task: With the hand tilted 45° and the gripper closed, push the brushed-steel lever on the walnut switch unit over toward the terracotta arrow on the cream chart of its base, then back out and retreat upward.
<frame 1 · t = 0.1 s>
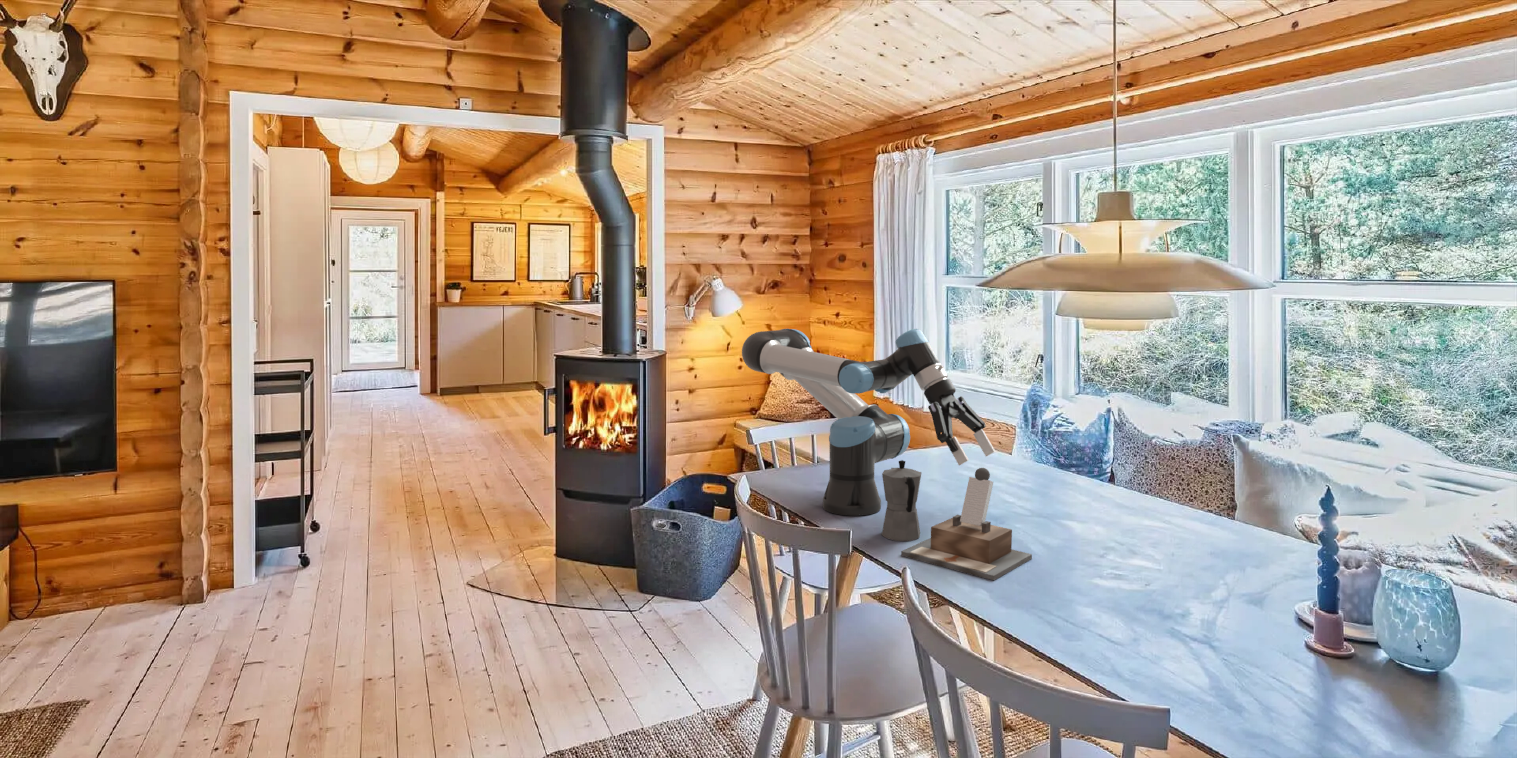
hand: (977, 458, 205), 15 cm above the table, tool tilted 35°, fingers open, 13 cm apart
coffeepot: (902, 537, 194), on the table
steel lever: (977, 495, 181), point 13 cm above the table, hinge at -22.0°
switch unit: (966, 557, 180), on the table
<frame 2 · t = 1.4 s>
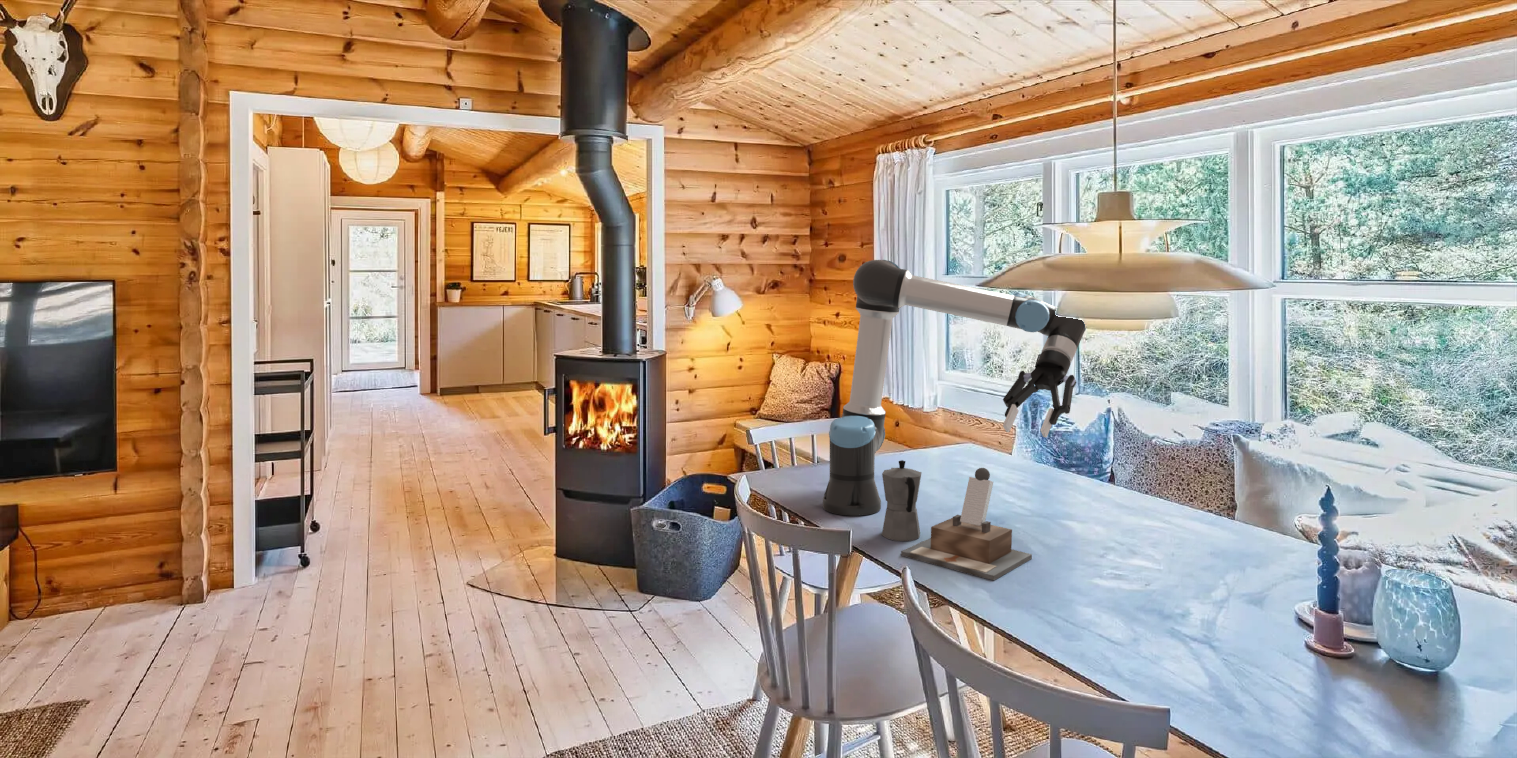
hand: (1024, 431, 195), 24 cm above the table, tool tilted 45°, fingers open, 9 cm apart
nothing on the table moved.
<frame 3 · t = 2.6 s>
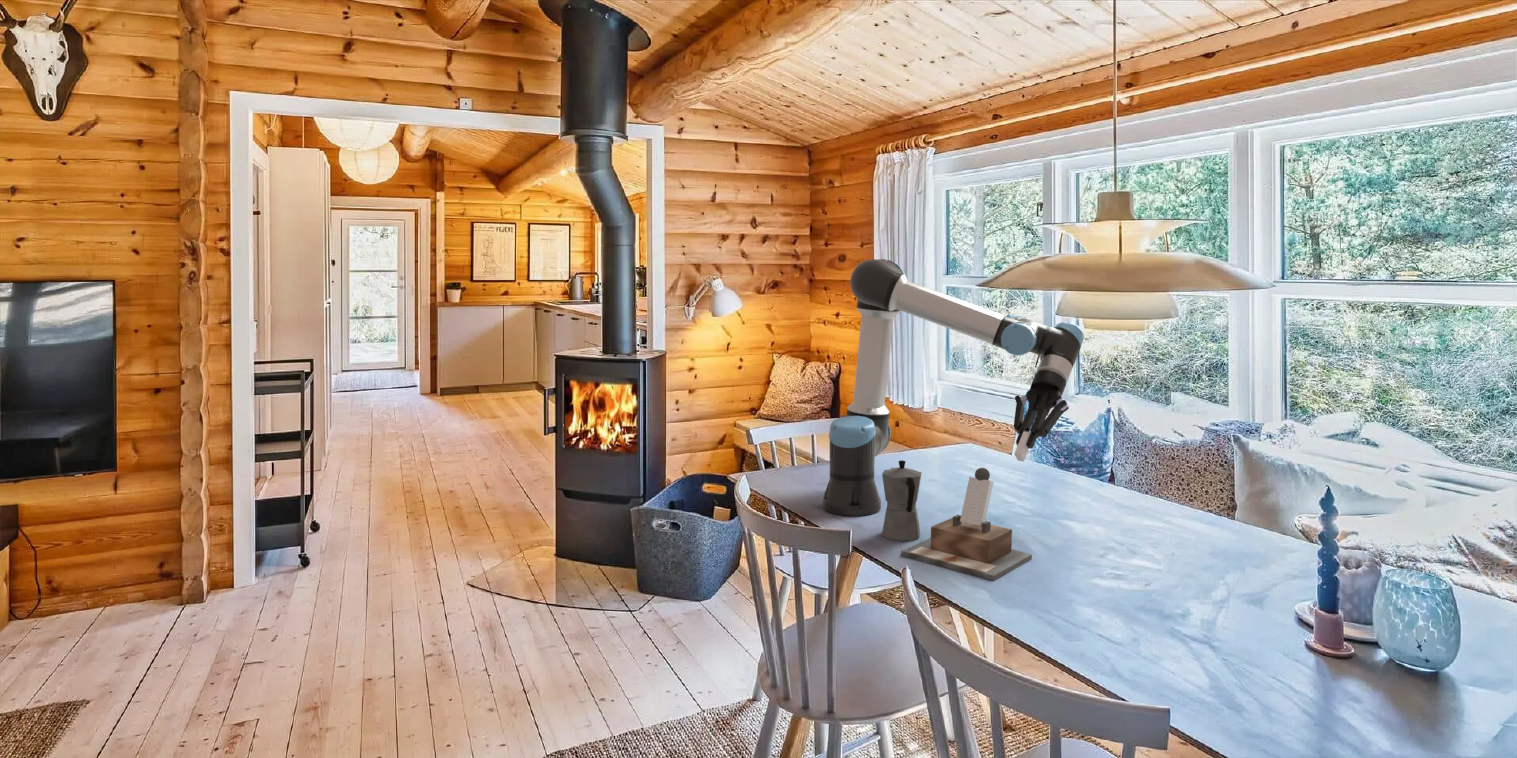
hand: (1019, 457, 191), 19 cm above the table, tool tilted 45°, fingers closed
nothing on the table moved.
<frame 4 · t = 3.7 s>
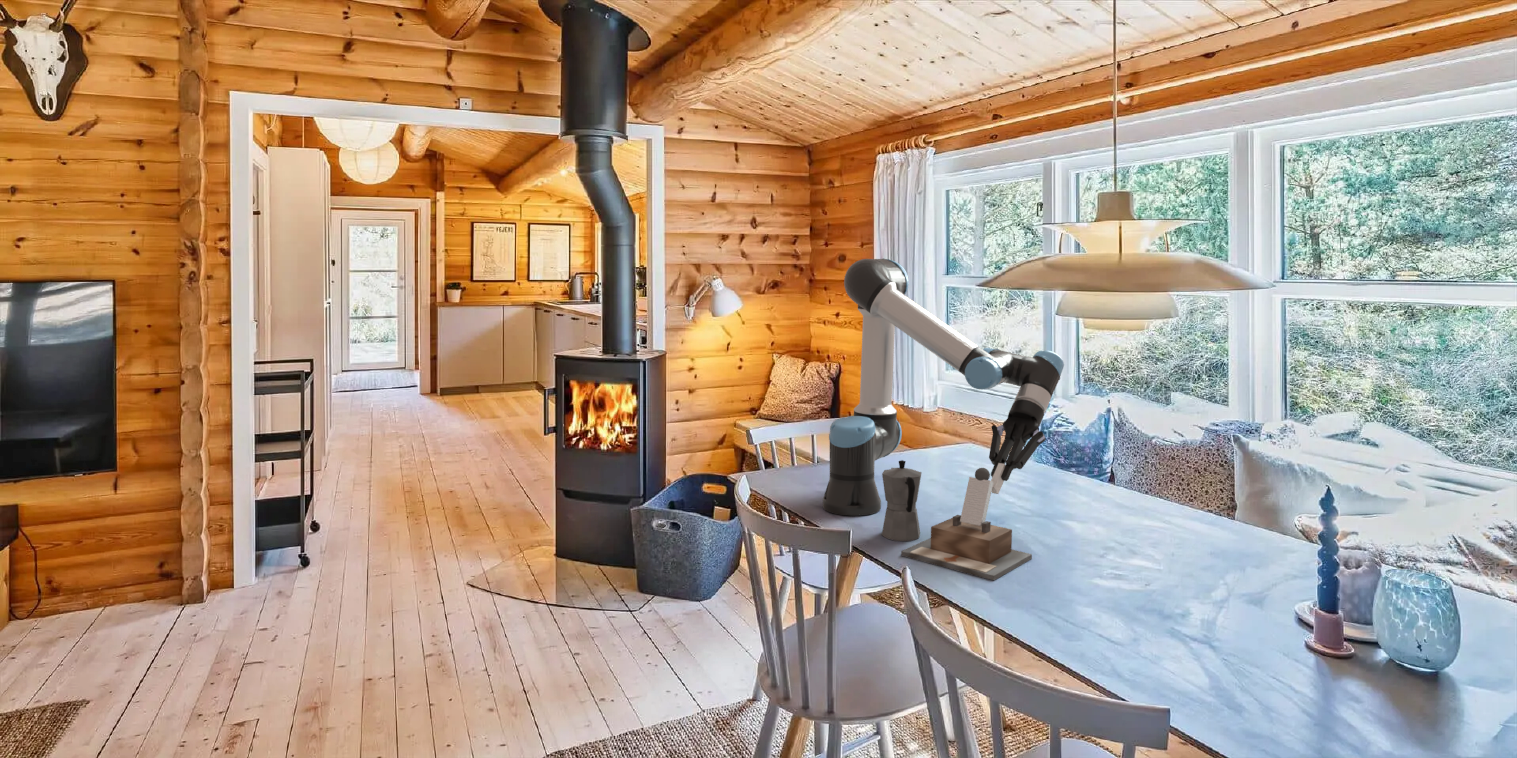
hand: (993, 490, 186), 13 cm above the table, tool tilted 45°, fingers closed
nothing on the table moved.
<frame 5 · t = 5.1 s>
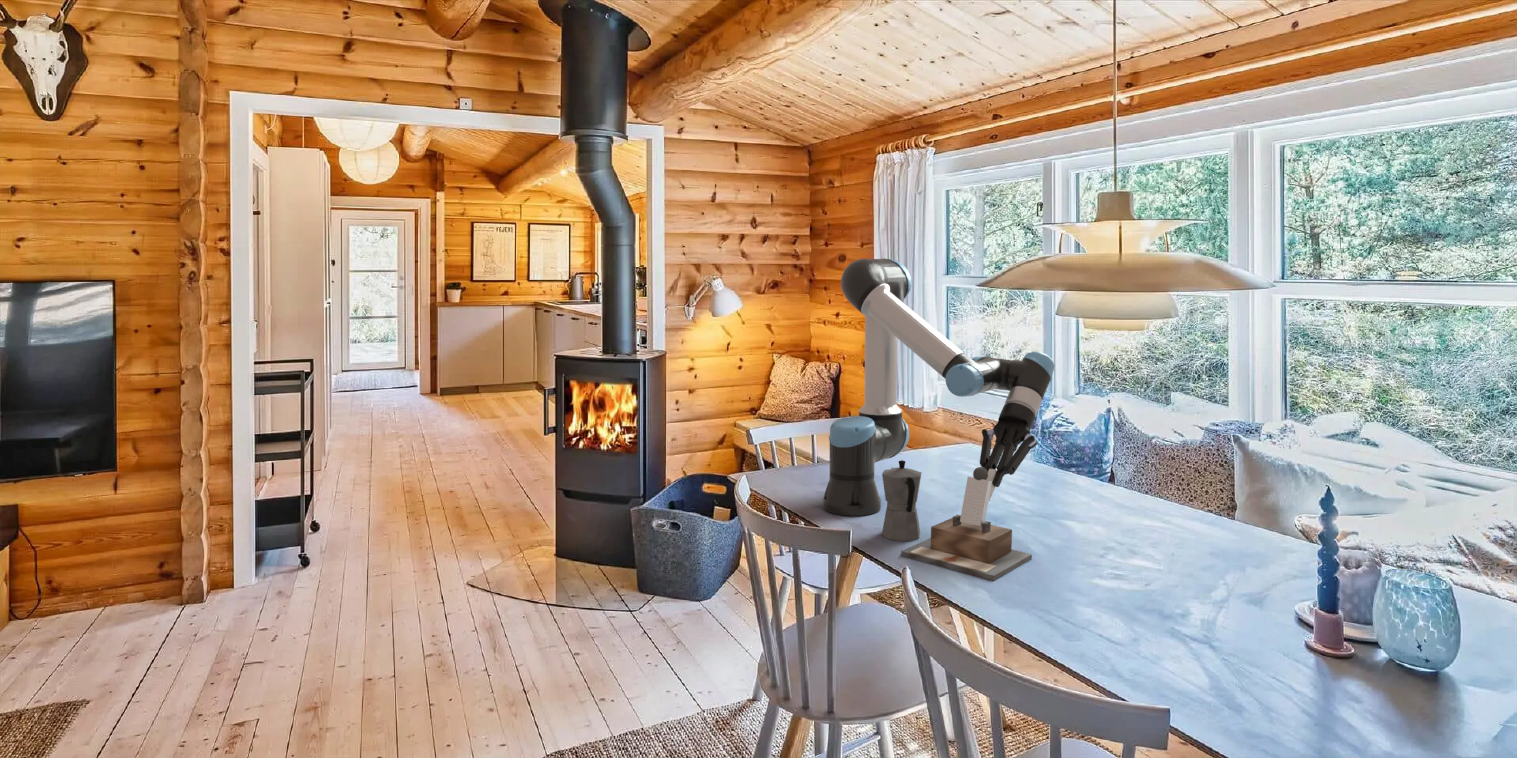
hand: (984, 497, 182), 12 cm above the table, tool tilted 45°, fingers closed
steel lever: (976, 495, 181), point 13 cm above the table, hinge at -17.7°, touching gripper
everything else where it was.
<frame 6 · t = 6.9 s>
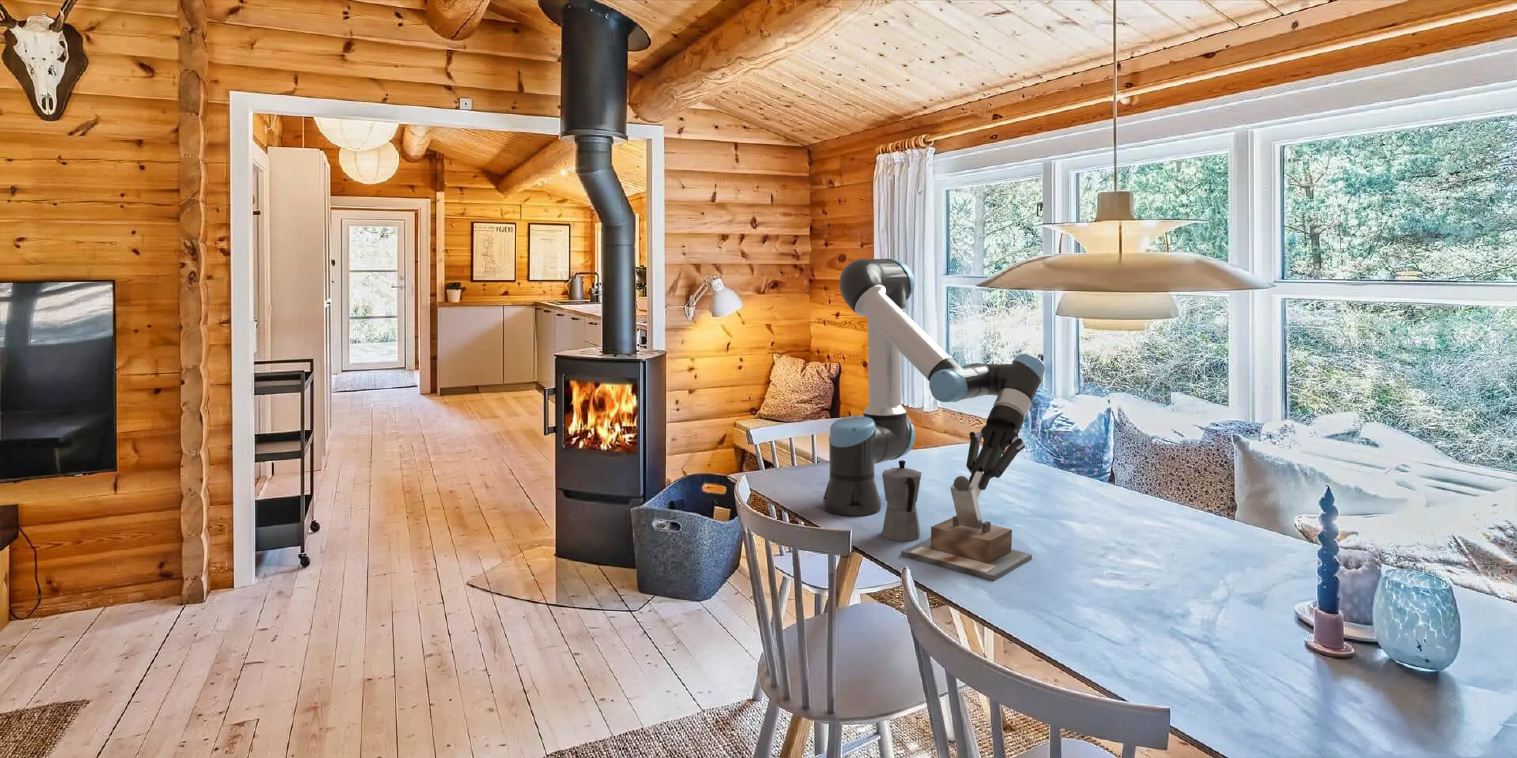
hand: (970, 500, 179), 13 cm above the table, tool tilted 45°, fingers closed
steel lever: (965, 501, 177), point 13 cm above the table, hinge at 24.0°, touching gripper
everything else where it was.
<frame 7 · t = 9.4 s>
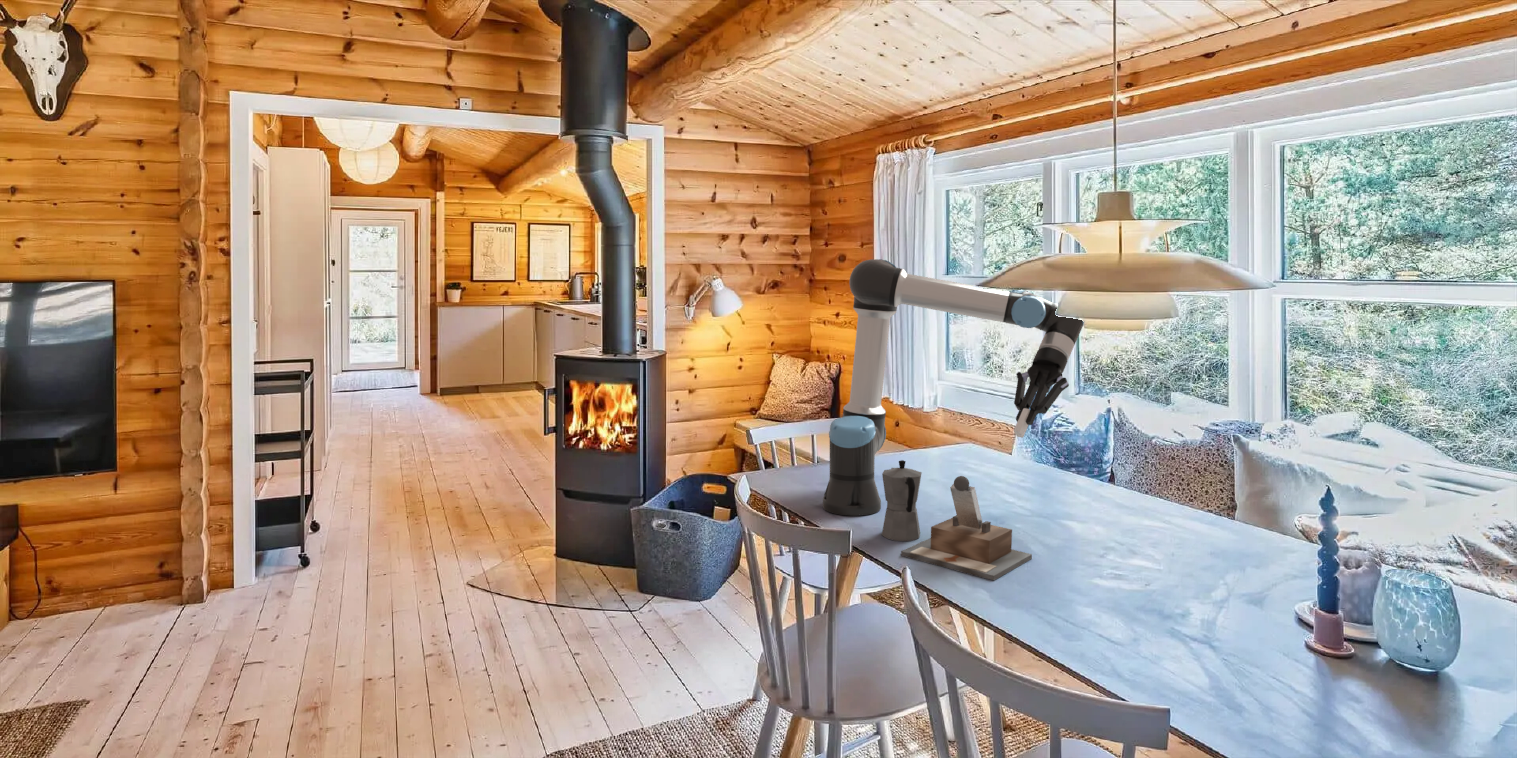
hand: (1018, 434, 196), 23 cm above the table, tool tilted 40°, fingers closed
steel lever: (965, 501, 177), point 13 cm above the table, hinge at 24.0°
everything else where it was.
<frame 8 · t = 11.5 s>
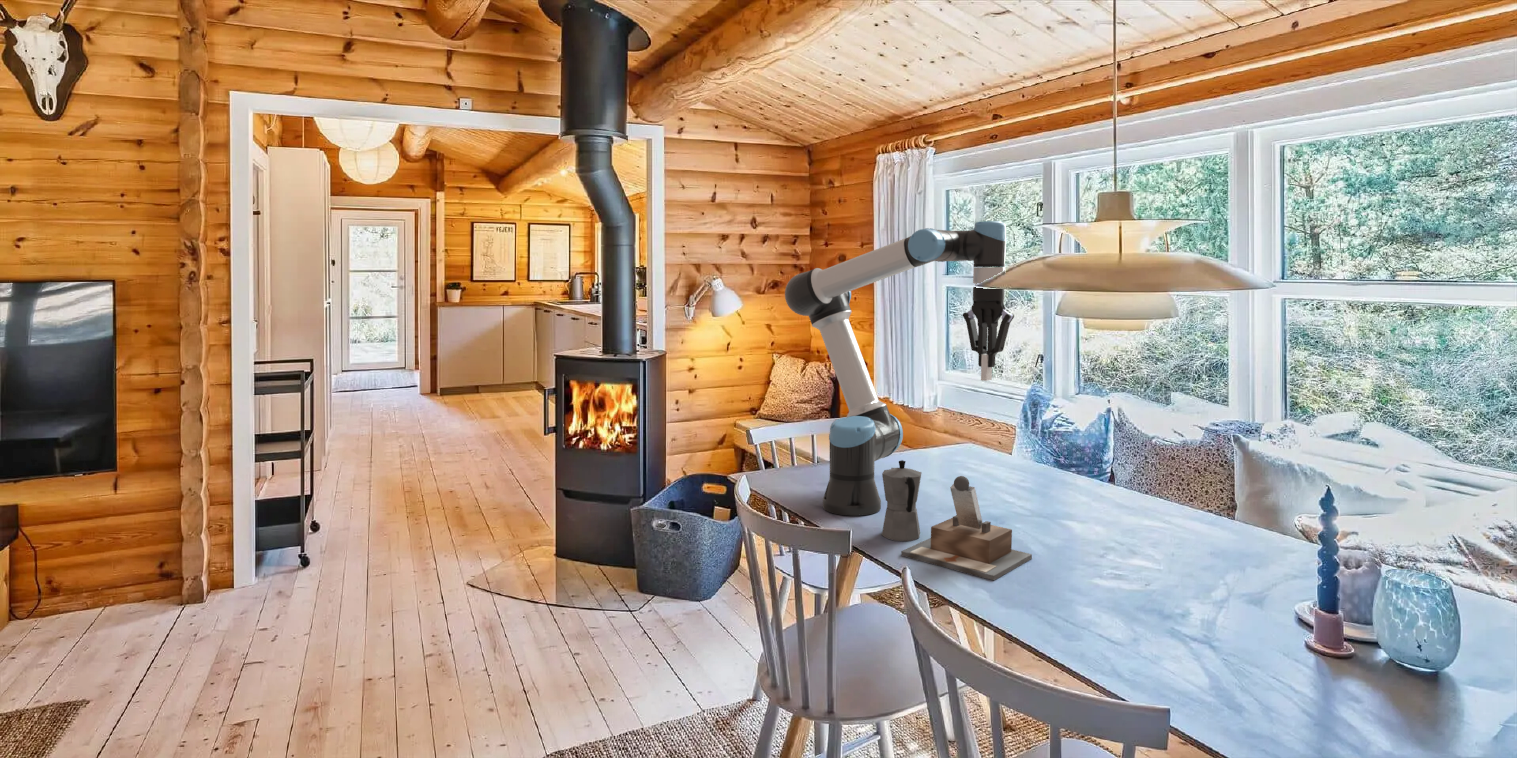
hand: (986, 379, 207), 34 cm above the table, tool pointing down, fingers closed
nothing on the table moved.
at the end: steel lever at +24° (first picture: -22°); coffeepot moved 0.2 cm from its start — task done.
